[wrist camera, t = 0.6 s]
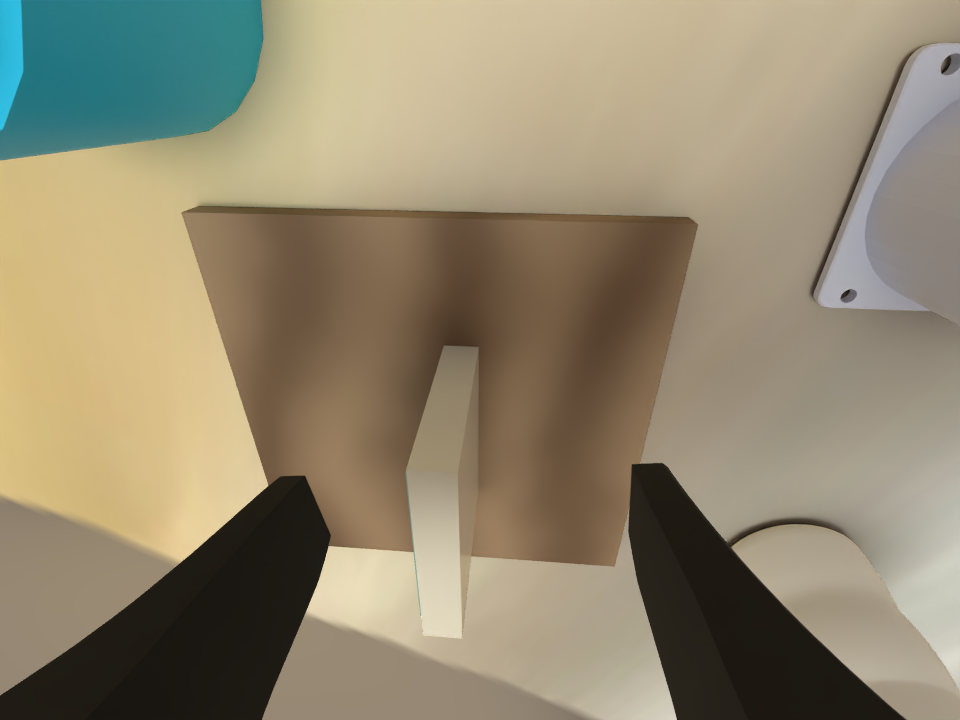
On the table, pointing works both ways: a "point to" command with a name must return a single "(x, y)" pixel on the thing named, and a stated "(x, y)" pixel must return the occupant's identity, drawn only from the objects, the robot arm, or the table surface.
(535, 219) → the board
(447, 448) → the tile
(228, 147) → the table surface
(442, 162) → the table surface
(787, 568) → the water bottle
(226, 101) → the mug
